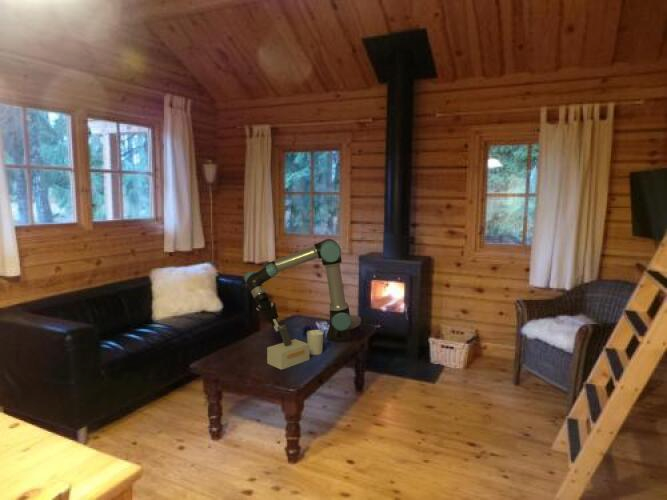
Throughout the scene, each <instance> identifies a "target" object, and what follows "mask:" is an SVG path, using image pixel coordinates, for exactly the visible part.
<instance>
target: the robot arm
mask: <svg viewBox="0 0 667 500" xmlns="http://www.w3.org/2000/svg"><path fill="white" fill-rule="evenodd" d="M315 259H318V260H320V259H321V264H322V266H323V267H325V274H326V279H327V280H326V281H327V285H328V286H327V287H328V292H329V298H330V303H329V307H328V308H329V326H328V330H327V333H326V339H327V340H328V341H331V342H335V343H338V342H339V343H340V342H341V343H342V342H347V341H349V340H350V339H351V333H350V330H349V329H348V328H349V327H350V325H351V321H352V320H351V317H350V315H351V314H350V307H349V304H348V303H347V302H346V297H345V290H344V284H343V277H342V271H341V264H342V262H343V261H342V250H341V246H340V245H339V243H338V242H337V241H336V240H335V239H332V238H326V239H323V240H322V241H318V242H317V243H313V245H312V246H311V247H308V248H304V249H303V250H299V251H296V252H294V253H291V254H289V255H288V254H287V255H286V256H283V257H280V258H278V259H275V260H273V261H267V262H265V263H264V264H263V265H262V268H261V269H259V270H258V271H257V272H256V271H253V270H251V271H249V272H247V273H245V275H244V276H243V279H244V282H245V284H246V287H248V289H249V291H250V293H251V295H252V297H253V299H254V302H255V303H256V305H257V306H256V308H255V311H257V312H258V313H259V315H261V317H262V318H263V320H265V322H266V323H267V322H268V323H270V324H271V326H272V327H273V328H274V330H275V332H276V333H277V332H280V331H279V330H278V326H280V325H279V322H278V320H277V319H278V318H279V315H278V310H277V307H276V302H272V301H271V300H270V298H269V296H268V294H267V292H266V290H265V288H264V287H263V284H265V283H266V282H267V281H269V280H270V279H273V278H274V277H275V276H277V275H278V273H279V272H281V271H282V272H283V271H284V270H288V269H290V268H294V267H296V266H298V265H301V264H305V263H307V262H310V261H313V260H315Z"/></svg>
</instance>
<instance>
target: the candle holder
mask: <svg viewBox="0 0 667 500" xmlns="http://www.w3.org/2000/svg"><path fill="white" fill-rule="evenodd" d="M306 341H307V342H306V343H307V344H309V355H312V356H318V355H321V354H322V353H323V347H324V346H323V345H324V331H323V330H320V329H311V330H307V331H306Z"/></svg>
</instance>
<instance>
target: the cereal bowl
mask: <svg viewBox="0 0 667 500" xmlns="http://www.w3.org/2000/svg"><path fill="white" fill-rule="evenodd" d="M350 317H351V320H352V321H351V325H350V327H349V328H348V329H349V331H351V330H354V329H355V328H357V327H358V326H360V324H361V322H362V320H361V319H362V318H361V317H360V316H358V315H354V314H350Z"/></svg>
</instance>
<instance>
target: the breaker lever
mask: <svg viewBox="0 0 667 500" xmlns="http://www.w3.org/2000/svg"><path fill="white" fill-rule="evenodd" d="M278 330H279V331H278V332H279V334H280V336H281V339H282V343H284V345H285V346H287V345H290V344H292V342H291V340H292V339H291V335H290V334H289V332H288V324H282V325H279V326H278Z"/></svg>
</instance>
